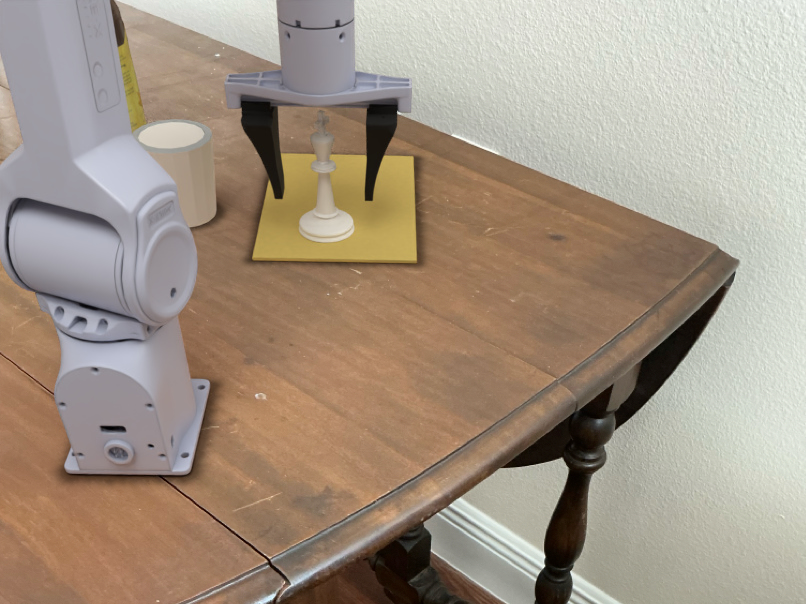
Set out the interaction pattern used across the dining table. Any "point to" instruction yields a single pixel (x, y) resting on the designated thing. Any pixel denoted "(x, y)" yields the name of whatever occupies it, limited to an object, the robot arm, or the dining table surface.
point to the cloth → (373, 220)
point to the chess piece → (324, 193)
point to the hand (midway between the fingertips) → (324, 194)
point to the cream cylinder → (184, 163)
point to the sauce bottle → (128, 71)
